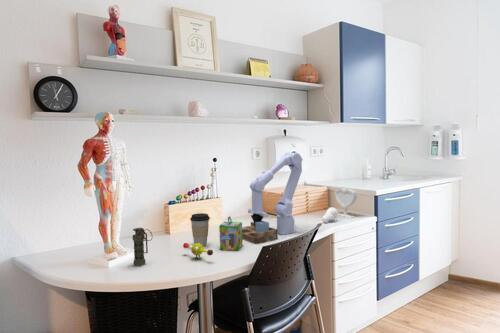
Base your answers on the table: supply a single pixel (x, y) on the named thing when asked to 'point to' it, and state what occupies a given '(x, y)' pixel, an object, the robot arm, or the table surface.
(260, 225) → the block
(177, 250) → the table surface
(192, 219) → the coffee cup
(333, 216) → the penguin figurine
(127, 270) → the table surface
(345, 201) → the heart sculpture
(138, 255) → the grenade
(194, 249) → the toy figure
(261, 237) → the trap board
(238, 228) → the green printed box
